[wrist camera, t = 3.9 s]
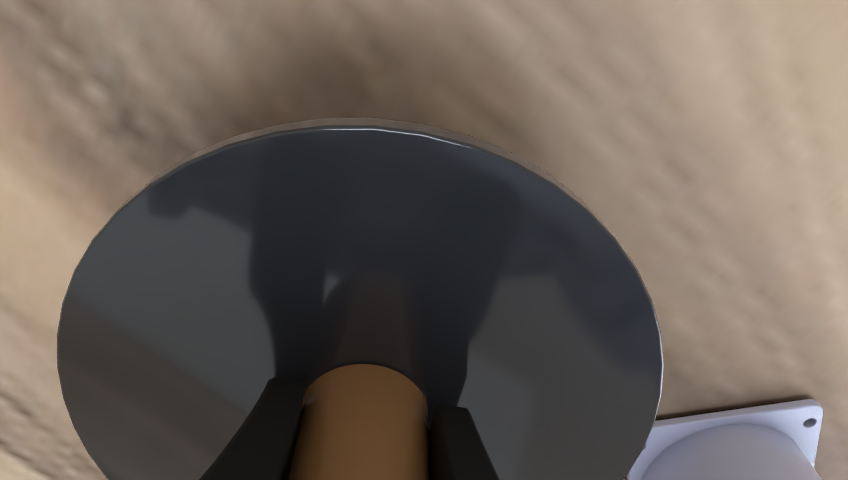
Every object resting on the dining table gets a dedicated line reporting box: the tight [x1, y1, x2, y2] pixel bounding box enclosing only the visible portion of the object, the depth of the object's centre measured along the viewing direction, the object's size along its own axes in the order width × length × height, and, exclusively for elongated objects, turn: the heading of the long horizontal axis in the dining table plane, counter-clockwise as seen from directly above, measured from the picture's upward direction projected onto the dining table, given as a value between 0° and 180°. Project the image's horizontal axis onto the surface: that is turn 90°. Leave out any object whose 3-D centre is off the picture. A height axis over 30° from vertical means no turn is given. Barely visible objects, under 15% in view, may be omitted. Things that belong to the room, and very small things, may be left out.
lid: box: [57, 118, 664, 480], centre depth 12 cm, size 12×12×4 cm
